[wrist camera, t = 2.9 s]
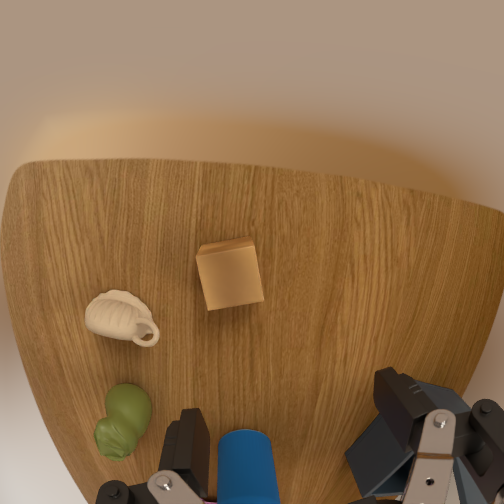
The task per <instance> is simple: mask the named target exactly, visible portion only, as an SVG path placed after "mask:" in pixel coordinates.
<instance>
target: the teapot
mask: <svg viewBox="0 0 504 504" xmlns="http://www.w3.org/2000/svg"><path fill="white" fill-rule="evenodd" d="M200 499H201V498H200ZM201 500H202V501H203V502H204V503H206V504H217V503H214V502H205V500H204V499H201Z"/></svg>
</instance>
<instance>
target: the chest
mask: <svg viewBox="0 0 504 504" xmlns="http://www.w3.org/2000/svg"><path fill="white" fill-rule="evenodd" d="M414 381H415V382H416V383H417V385H419V386H420V387H421V389H422V391H424V392H425V393H426V394H427V396H428V397H429V398H430V399H431V400H432V401H433V403H434V404H435V405H436V406H437V407H438V408H439V409H446V410H449V411H451V412H452V413H453V414H459V413H463V412H467V411H471V410H472V409H471V408H470V407H469V406H468V405H467V404H466V403H465V402H464V401H463V400H462V399H461V398H460V397H459V395H458V394H457V393H455V391H454V390H452V389H448V388H444V387H440V386H436V385H432V384H428V383H424V382H420V381H417V380H414ZM414 455H415V453H414V452H413V450H411V451H409V452H407V453H404V452H403V450H402V448H401V447H400V445H399V443H398V442H397V440H396V438H395V437H394V435H393V434H392V432H391V430H390V429H389V427H388V425H387V424H386V422H385V421H384V419H383V417H382V416H381V414H380V413H379V415H378V416H377V417H376V418H375V420H374V421H373V422H372V423H371V424H370V426H369V427H368V428H367V429H366V430H365V431H364V433H363V434H362V435H361V436H360V437H359V438H358V439H357V440H356V442H355V443H354V444H353V445H352V446H351V447H350V448H349V449H348V450H347V451H346V452H345V456H346V458H347V460H348V463H349V465H350V468H351V470H352V473H353V475H354V478H355V480H356V483H357V485H358V488H359V490H360V493H361V495H362V498H365V497H369V496H372V495H375V497H383V496H394V495H402V493H403V491H404V488H405V485H406V482H407V479H408V475H409V472H410V469H411V466H412V462H413V458H414Z"/></svg>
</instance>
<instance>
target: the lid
mask: <svg viewBox="0 0 504 504" xmlns="http://www.w3.org/2000/svg"><path fill="white" fill-rule="evenodd" d="M452 468H453V472H454V476H455V480H456V485H457V490H458V495H459V500H460V504H487V502H486V500H485V498H484V497H483V495H482V493H481V492H480V490H479V488H478V487H477V485H476V484H475V482H474V480H473V479H472V477H471V475H470V474H469V472H468V471H467V469H466V467H465V466H464V464H463V463H462V461H461V460H460V458H459V457H456V458H454V461H453V467H452Z"/></svg>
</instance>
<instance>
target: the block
mask: <svg viewBox="0 0 504 504" xmlns="http://www.w3.org/2000/svg"><path fill="white" fill-rule="evenodd" d="M195 258H196V262H197V267H198V271H199V276H200V280H201V284H202V289H203V293H204V297H205V301H206V305H207V310H208V311H210V310H216V309H222V308H228V307H234V306H239V305H245V304H251V303H256V302H261V301H264V297H263V291H262V286H261V280H260V274H259V268H258V262H257V257H256V251H255V246H254V243H253V240H252V237H251V236H247V237H242V238H236V239H231V240H225V241H220V242H214V243H209V244H204V245H201V247H200V249H199V251H198V253H197V255H196V257H195Z"/></svg>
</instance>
